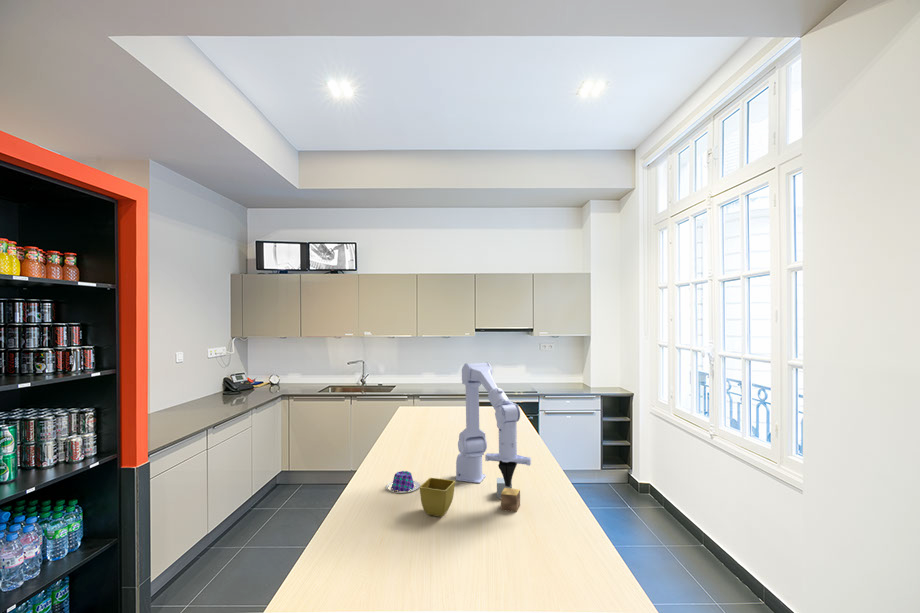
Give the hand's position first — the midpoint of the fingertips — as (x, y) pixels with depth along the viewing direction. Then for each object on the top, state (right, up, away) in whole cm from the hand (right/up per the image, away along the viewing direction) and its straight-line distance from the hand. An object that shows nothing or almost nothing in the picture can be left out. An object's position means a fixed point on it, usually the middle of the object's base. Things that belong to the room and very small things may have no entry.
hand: (508, 485), depth 141 cm
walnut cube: (+1, -2, 0) cm, 2 cm away
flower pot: (-22, -7, -4) cm, 24 cm away
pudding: (-36, -8, +17) cm, 40 cm away
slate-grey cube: (0, -7, +10) cm, 12 cm away
